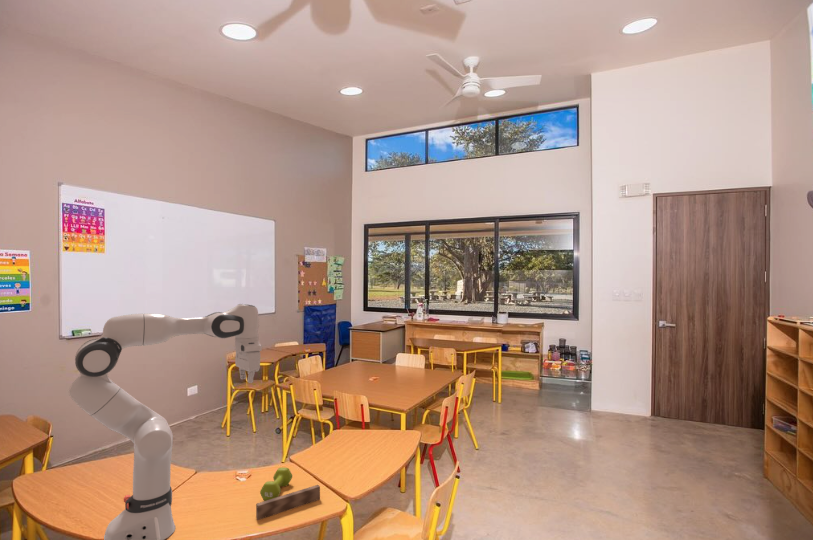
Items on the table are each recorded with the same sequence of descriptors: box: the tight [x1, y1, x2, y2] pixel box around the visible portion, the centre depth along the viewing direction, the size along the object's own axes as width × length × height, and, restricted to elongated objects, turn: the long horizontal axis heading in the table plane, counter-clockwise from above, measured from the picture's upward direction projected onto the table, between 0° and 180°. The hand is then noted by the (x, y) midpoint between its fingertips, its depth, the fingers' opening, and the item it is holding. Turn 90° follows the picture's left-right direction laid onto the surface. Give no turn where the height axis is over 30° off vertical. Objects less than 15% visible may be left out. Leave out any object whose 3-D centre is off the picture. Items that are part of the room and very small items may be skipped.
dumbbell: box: [259, 467, 293, 501], centre depth 169 cm, size 16×8×7 cm, turn 174°
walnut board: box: [255, 484, 321, 521], centre depth 157 cm, size 24×2×5 cm, turn 125°
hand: (246, 380), depth 161 cm, fingers open, 8 cm apart
